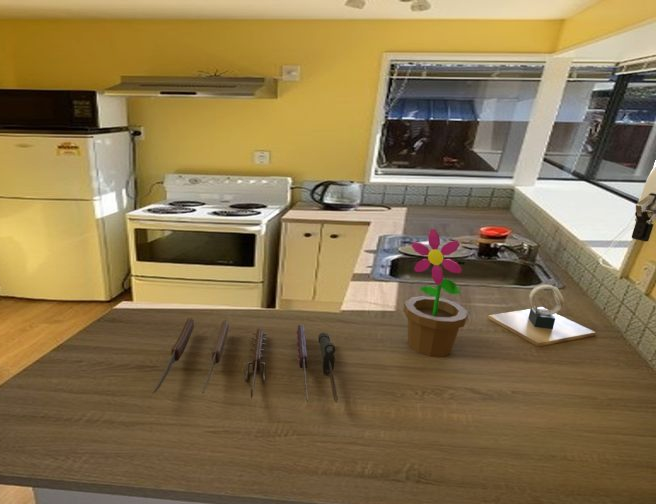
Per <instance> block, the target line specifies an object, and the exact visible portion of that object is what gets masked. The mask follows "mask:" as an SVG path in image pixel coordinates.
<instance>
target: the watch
mask: <svg viewBox="0 0 656 504" xmlns="http://www.w3.org/2000/svg"><path fill="white" fill-rule="evenodd" d="M546 289H550V294H551V296H552V298H553V300H554V302H555V303H556V305H555V306H554V307H553V308H551V309H547V310H545V309H546V308H545V309H537V308H538V306H537V305H536V302H535V295H536V293H538V292H540V291H542V290H546ZM528 300H529V303H530V305H531V307H530V308H529V309H530V313H529V317H528V318H529V320H530V321H531V322H532V324H533V325H534V327H539V328H547V329H553V326H554V322H555V317H554V316H553V315H552V314H555V313H556V314H557V313H559V312H560V311H561V310H562V309H563V308H564V305H566V302H565V300H564V296H563V294H562V292H561V291H560V290H559V288H558V287H557V286H553V285H551V284H548V283H543V284H539V285H536V286H535V287H533V288H532V289H531V290H530V293H529V296H528Z"/></svg>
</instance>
